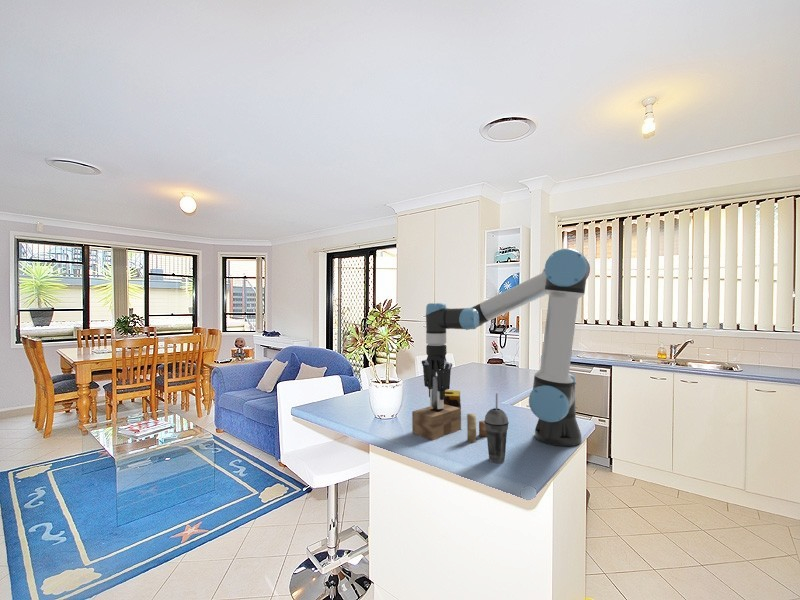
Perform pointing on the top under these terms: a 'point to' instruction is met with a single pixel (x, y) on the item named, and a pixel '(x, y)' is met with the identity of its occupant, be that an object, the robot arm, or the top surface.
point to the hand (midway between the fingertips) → (436, 407)
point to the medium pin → (471, 427)
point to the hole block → (436, 421)
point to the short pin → (482, 429)
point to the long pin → (435, 393)
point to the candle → (452, 398)
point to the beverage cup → (496, 433)
